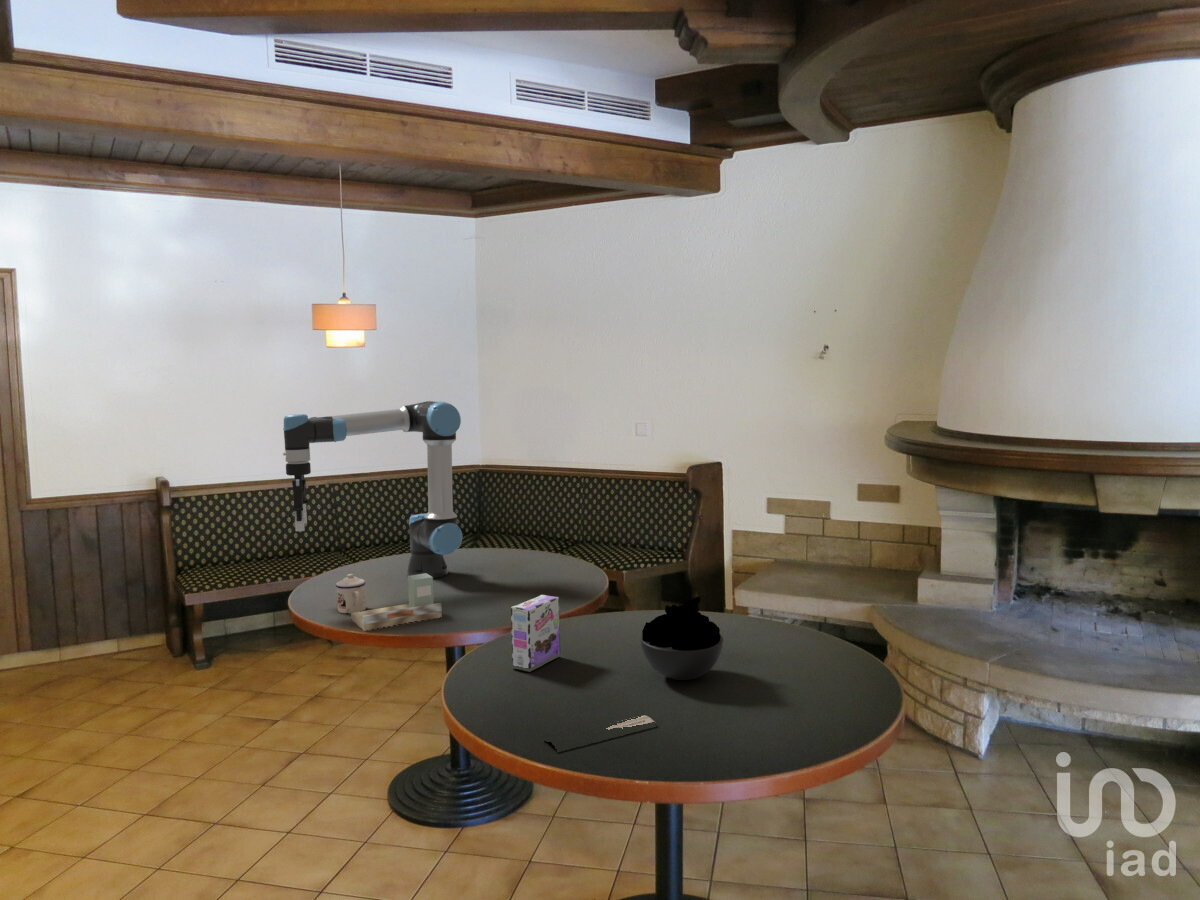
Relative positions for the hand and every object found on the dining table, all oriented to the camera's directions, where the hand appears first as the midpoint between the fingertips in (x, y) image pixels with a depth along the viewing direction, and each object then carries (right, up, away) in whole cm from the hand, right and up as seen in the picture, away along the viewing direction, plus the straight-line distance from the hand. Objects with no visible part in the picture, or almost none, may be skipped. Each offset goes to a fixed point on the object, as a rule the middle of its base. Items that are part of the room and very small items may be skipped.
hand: (301, 527), depth 274 cm
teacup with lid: (+18, -26, -5) cm, 33 cm away
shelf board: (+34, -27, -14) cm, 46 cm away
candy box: (+81, -30, -56) cm, 103 cm away
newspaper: (+97, -35, -99) cm, 143 cm away
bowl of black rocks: (+117, -31, -68) cm, 139 cm away
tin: (+41, -24, -10) cm, 49 cm away
